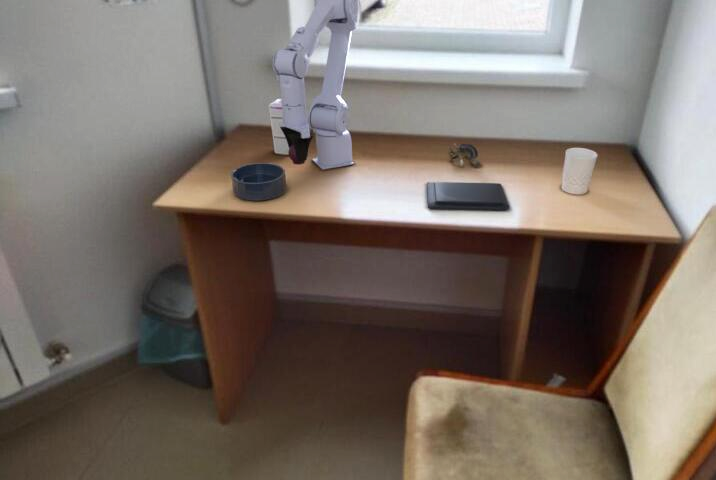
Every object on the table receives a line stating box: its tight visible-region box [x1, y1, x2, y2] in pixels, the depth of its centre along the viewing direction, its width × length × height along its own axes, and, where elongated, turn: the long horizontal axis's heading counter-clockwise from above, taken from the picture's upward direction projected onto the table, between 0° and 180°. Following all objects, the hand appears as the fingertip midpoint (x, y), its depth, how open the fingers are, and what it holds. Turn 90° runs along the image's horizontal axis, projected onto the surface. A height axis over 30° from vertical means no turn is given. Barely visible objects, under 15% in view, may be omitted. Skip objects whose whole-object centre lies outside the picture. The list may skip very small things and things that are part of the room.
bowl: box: [230, 162, 288, 201], centre depth 140 cm, size 13×13×5 cm
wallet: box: [426, 181, 510, 212], centre depth 141 cm, size 20×2×15 cm
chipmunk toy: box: [446, 143, 482, 168], centre depth 158 cm, size 8×7×9 cm
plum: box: [288, 145, 309, 166], centre depth 141 cm, size 5×5×6 cm
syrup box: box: [268, 98, 289, 156], centre depth 161 cm, size 6×6×14 cm
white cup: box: [561, 147, 599, 195], centre depth 145 cm, size 8×8×10 cm
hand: (298, 157), depth 142 cm, fingers closed on plum, 4 cm apart
